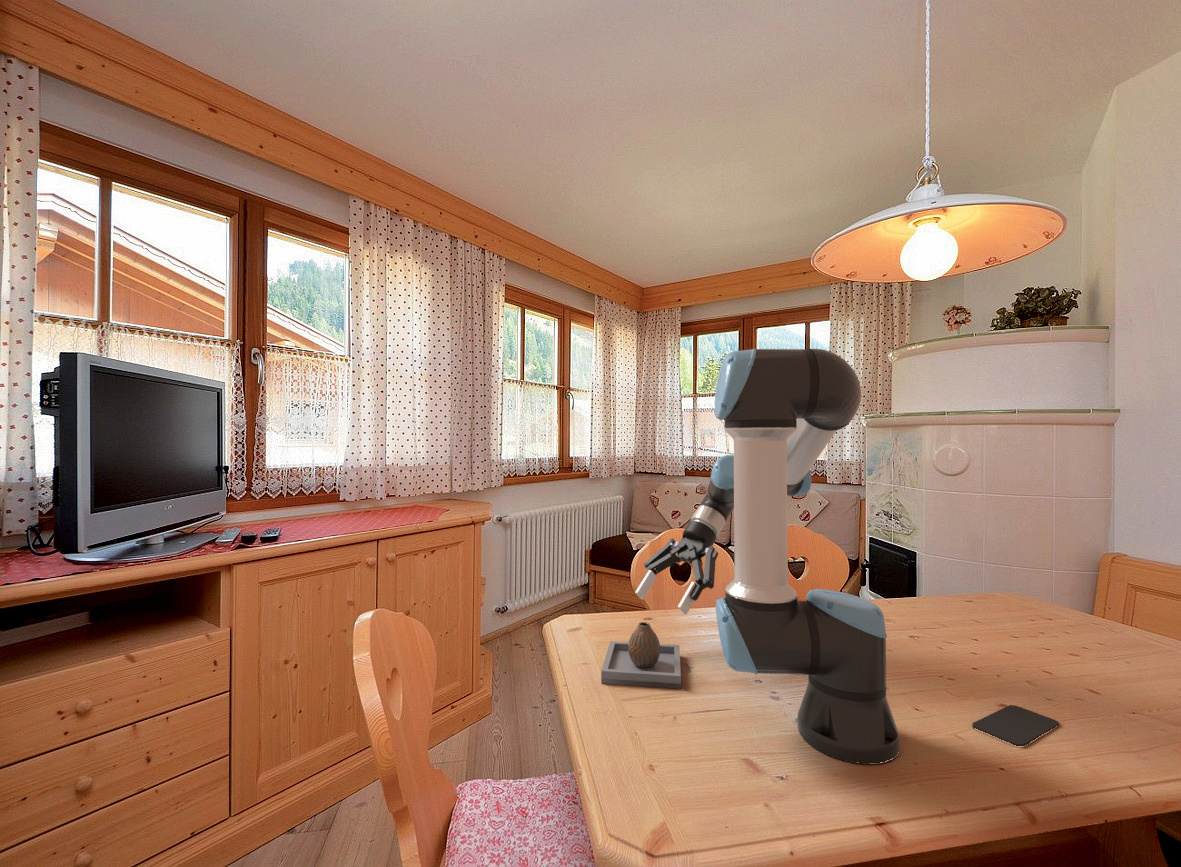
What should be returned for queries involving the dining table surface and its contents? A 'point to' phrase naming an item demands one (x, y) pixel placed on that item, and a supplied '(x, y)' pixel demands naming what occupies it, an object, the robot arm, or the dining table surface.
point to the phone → (1015, 725)
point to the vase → (644, 646)
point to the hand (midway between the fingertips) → (659, 603)
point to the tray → (627, 673)
